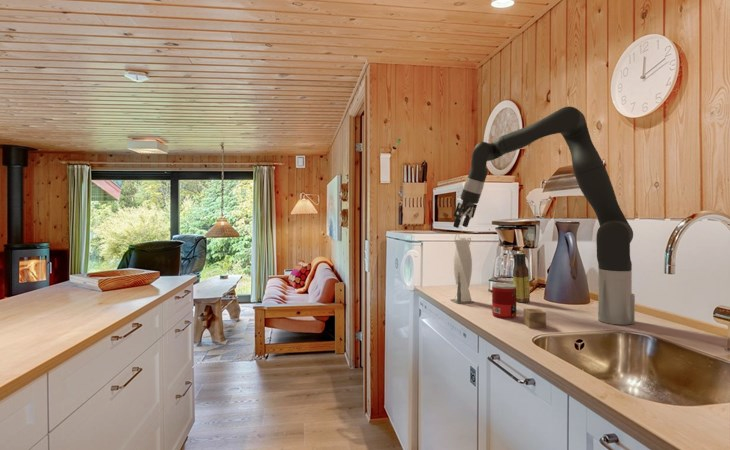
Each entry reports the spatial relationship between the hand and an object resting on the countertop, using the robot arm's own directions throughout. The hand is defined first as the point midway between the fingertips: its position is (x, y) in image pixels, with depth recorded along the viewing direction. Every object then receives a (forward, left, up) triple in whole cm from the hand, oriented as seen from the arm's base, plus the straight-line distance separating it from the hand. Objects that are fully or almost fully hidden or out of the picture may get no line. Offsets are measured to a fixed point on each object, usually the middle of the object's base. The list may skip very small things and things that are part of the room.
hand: (460, 226), depth 164 cm
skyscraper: (0, +5, -31) cm, 31 cm away
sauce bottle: (-24, +5, -31) cm, 39 cm away
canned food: (-10, +29, -31) cm, 43 cm away
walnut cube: (-16, +41, -31) cm, 54 cm away
